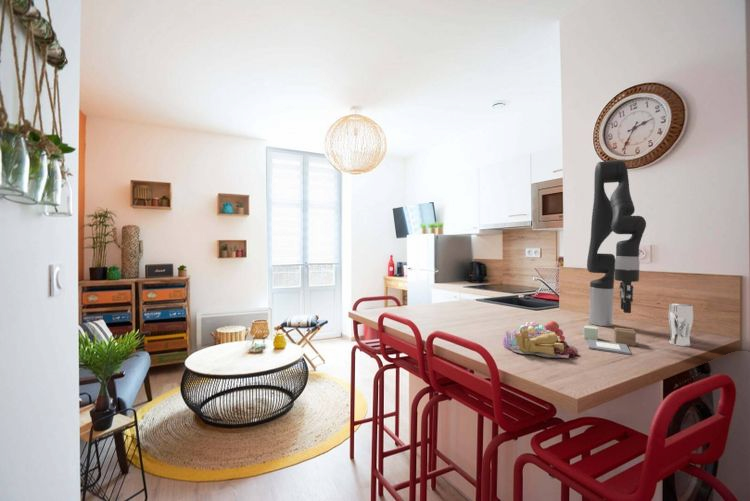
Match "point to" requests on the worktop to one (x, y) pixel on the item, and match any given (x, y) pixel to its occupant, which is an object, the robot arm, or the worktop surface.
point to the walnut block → (625, 336)
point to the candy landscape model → (539, 341)
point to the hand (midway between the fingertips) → (625, 311)
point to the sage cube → (590, 332)
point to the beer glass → (680, 323)
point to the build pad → (608, 346)
